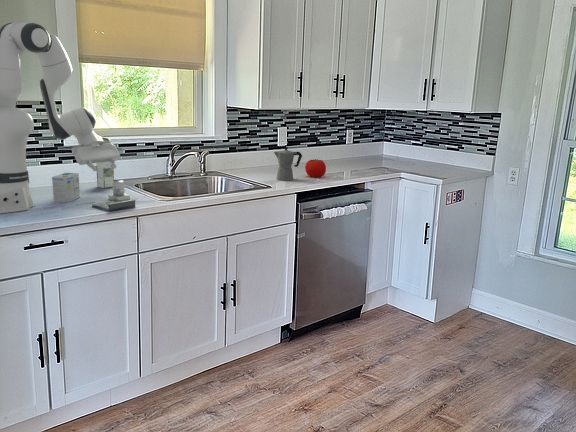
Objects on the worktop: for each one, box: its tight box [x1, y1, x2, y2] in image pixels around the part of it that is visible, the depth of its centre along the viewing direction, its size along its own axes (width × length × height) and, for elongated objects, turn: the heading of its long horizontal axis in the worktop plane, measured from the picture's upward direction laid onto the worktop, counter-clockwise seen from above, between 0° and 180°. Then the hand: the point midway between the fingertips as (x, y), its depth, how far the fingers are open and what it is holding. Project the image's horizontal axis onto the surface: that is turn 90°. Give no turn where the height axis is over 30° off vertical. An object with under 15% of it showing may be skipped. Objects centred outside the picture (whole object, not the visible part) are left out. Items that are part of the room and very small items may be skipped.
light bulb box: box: [51, 172, 81, 204], centre depth 226 cm, size 11×7×11 cm, turn 174°
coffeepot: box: [273, 146, 303, 182], centre depth 290 cm, size 15×9×18 cm, turn 86°
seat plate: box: [92, 198, 136, 213], centre depth 218 cm, size 12×12×3 cm
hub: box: [107, 179, 131, 201], centre depth 230 cm, size 6×6×8 cm
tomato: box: [304, 158, 327, 178], centre depth 302 cm, size 12×12×10 cm
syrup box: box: [95, 161, 115, 189], centre depth 252 cm, size 6×6×14 cm
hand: (105, 169), depth 234 cm, fingers open, 8 cm apart
